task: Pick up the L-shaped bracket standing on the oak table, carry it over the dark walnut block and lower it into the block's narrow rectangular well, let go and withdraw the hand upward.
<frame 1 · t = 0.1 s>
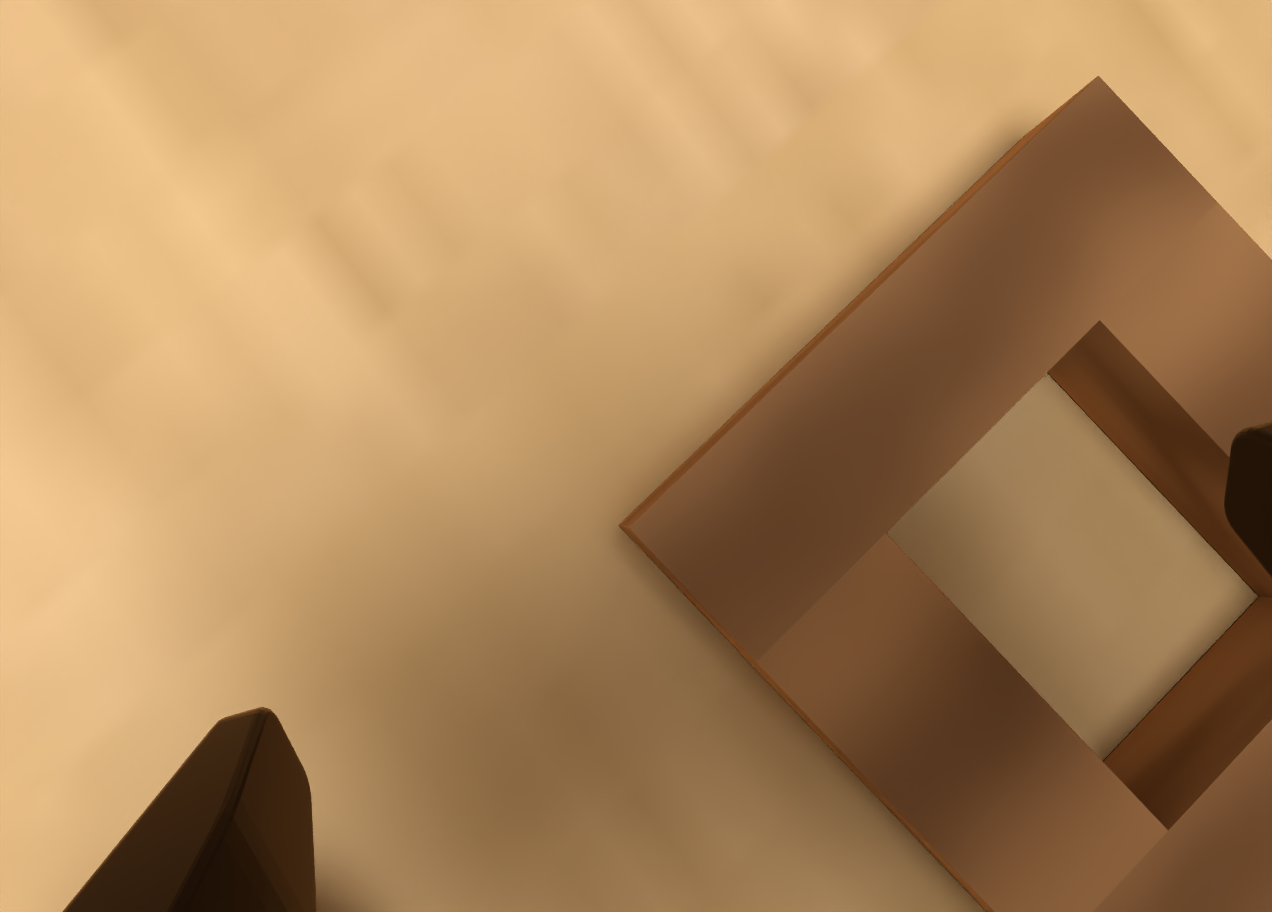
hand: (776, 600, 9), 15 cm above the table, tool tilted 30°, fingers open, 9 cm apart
well block: (1052, 563, 25), on the table
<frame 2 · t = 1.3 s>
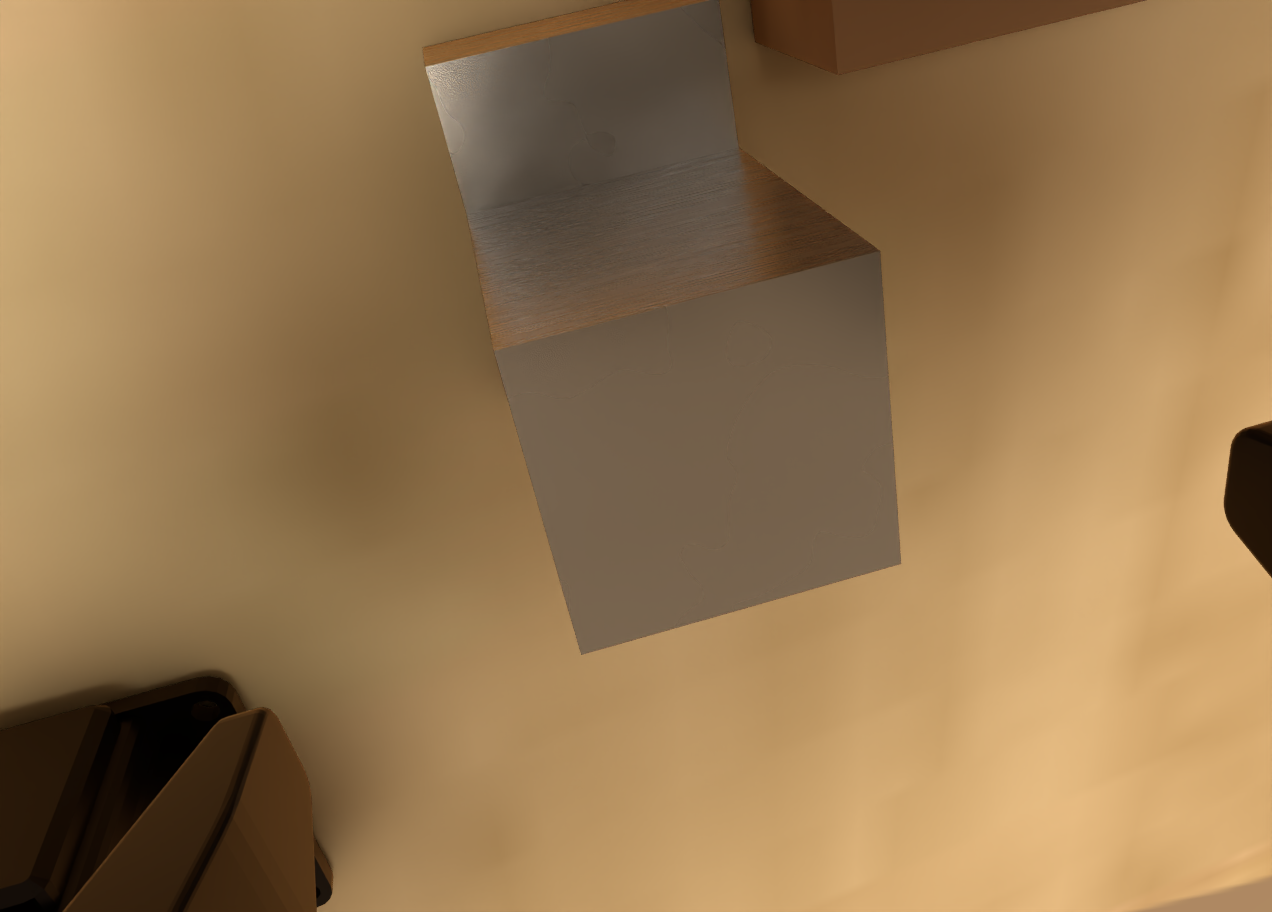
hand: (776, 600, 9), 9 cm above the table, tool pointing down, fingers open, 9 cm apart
bracket: (607, 268, 17), on the table
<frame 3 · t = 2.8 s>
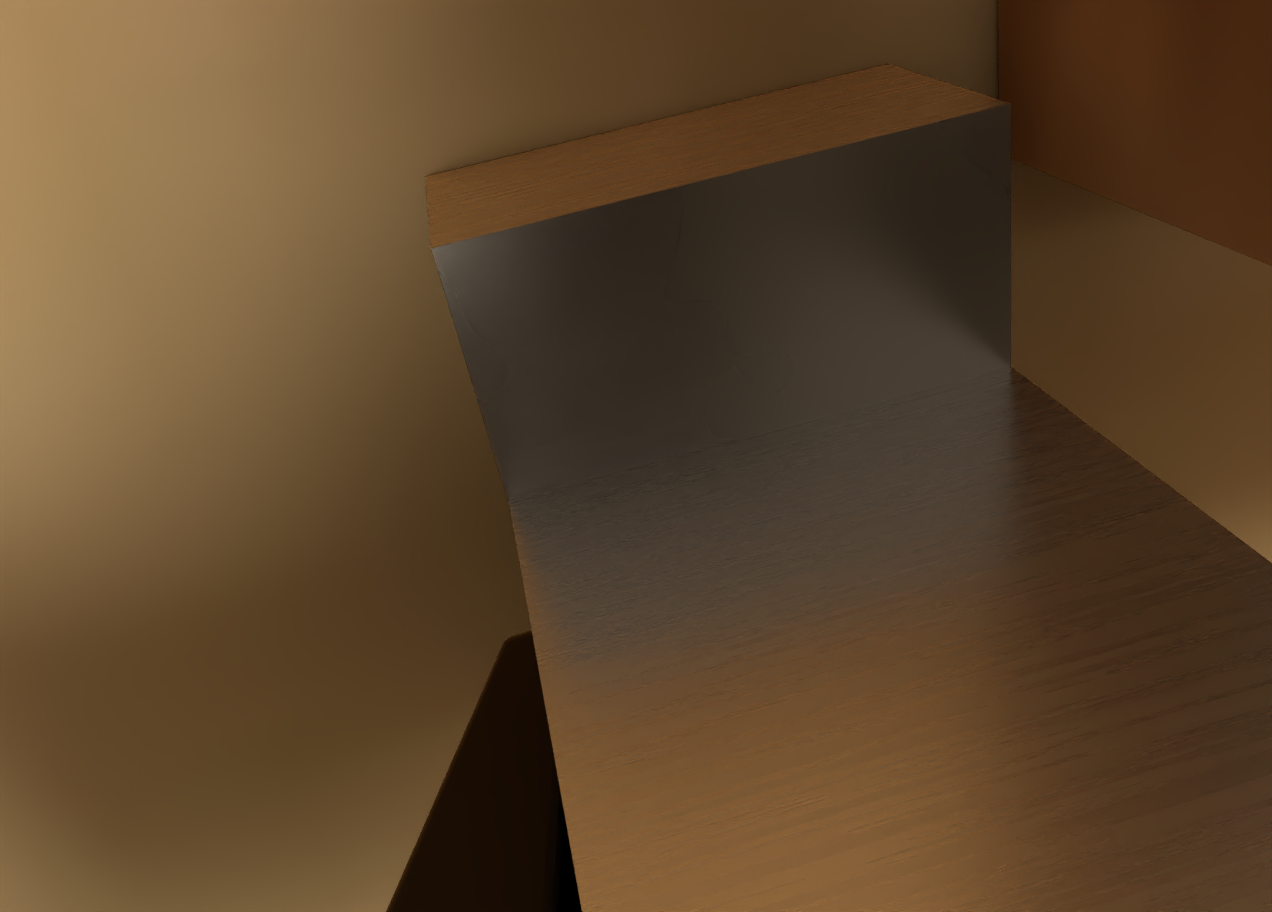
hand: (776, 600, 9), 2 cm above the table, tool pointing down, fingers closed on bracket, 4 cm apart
bracket: (728, 512, 10), on the table, touching gripper
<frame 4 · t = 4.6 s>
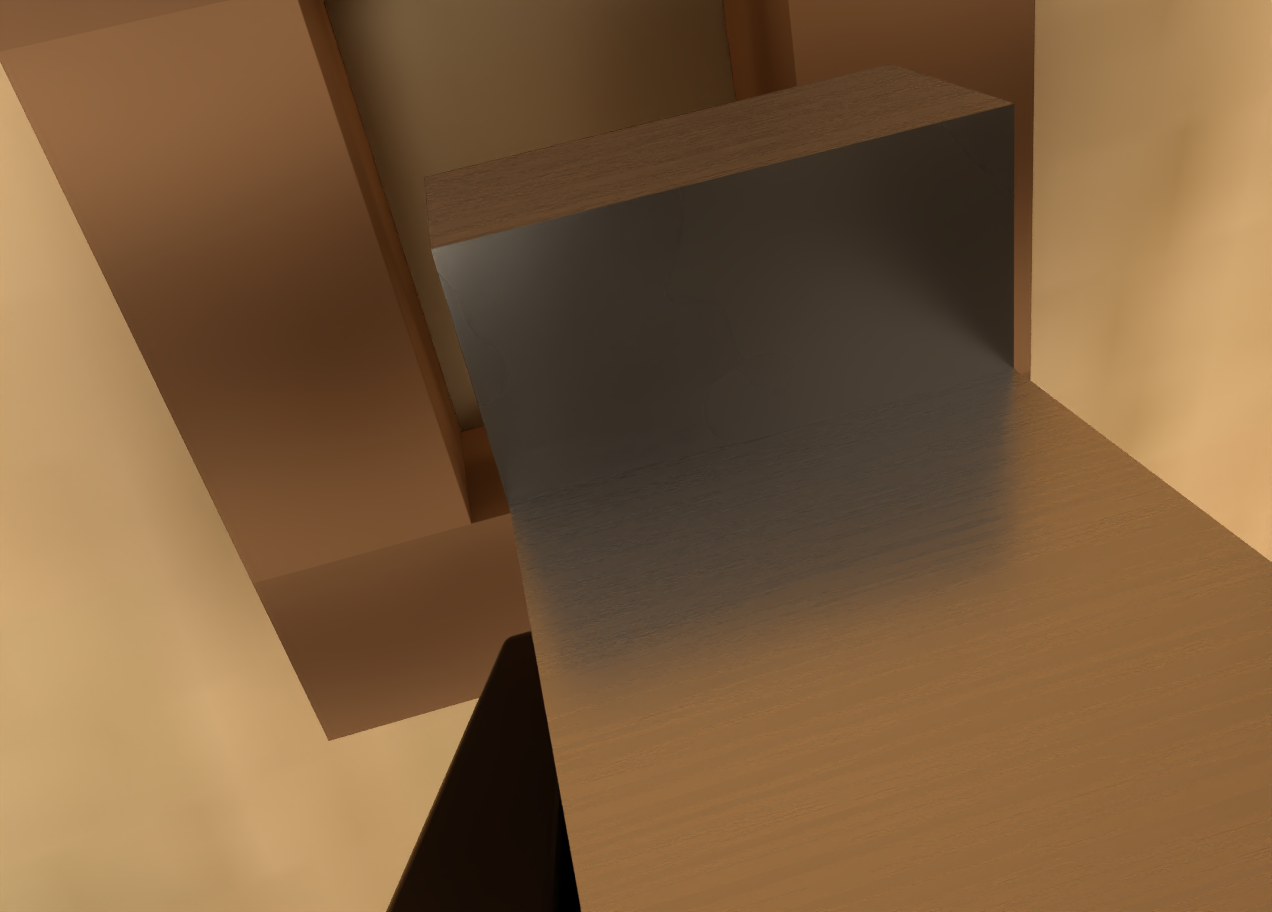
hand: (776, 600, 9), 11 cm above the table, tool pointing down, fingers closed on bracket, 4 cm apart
bracket: (729, 514, 10), point 10 cm above the table, touching gripper
well block: (571, 185, 18), on the table
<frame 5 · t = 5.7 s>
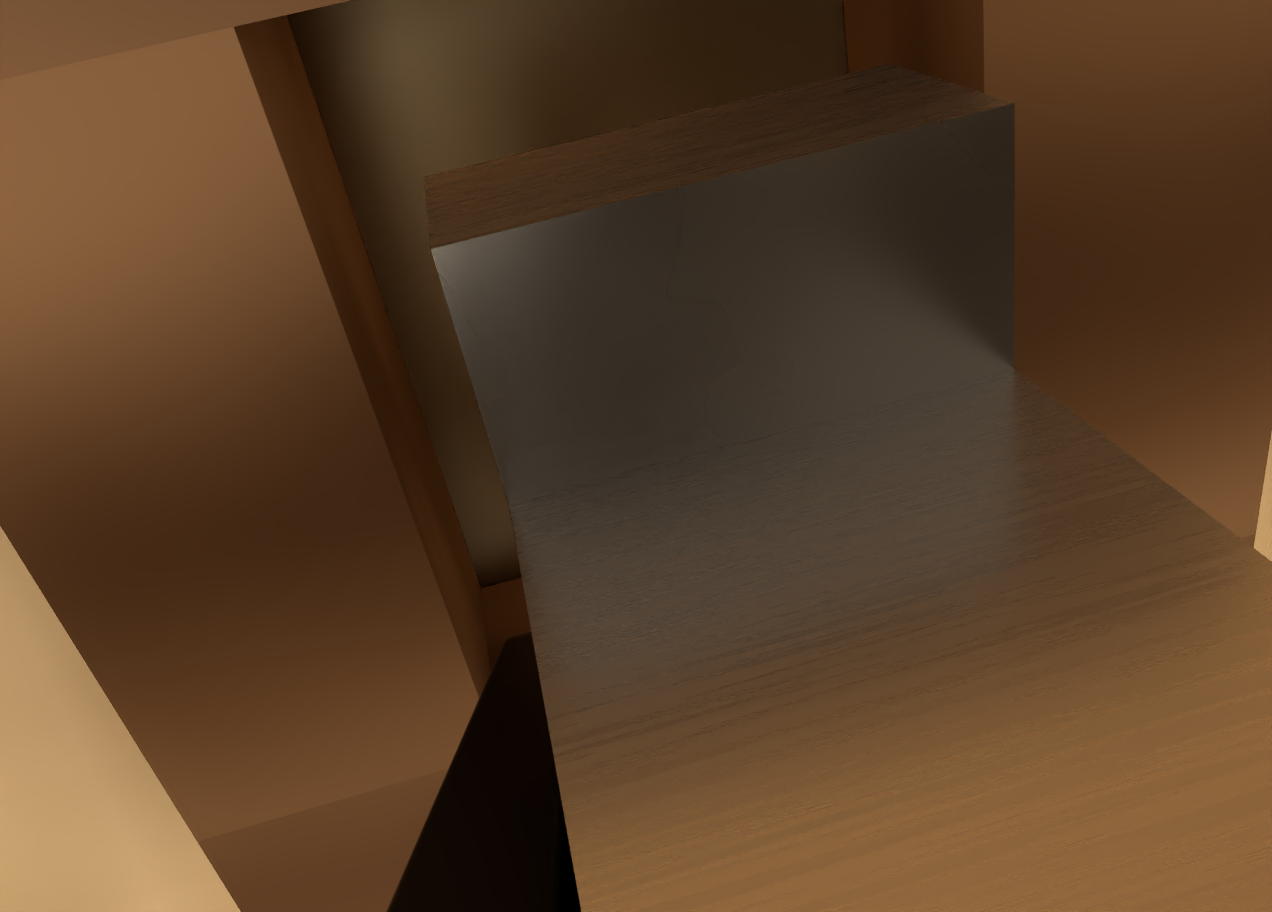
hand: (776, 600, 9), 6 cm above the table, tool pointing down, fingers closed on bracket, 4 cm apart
bracket: (729, 514, 10), point 4 cm above the table, touching gripper
well block: (632, 278, 14), on the table
when the fingers open (4 cm above the table, at t = 6.5 s): bracket drops 3 cm, resting in well block.
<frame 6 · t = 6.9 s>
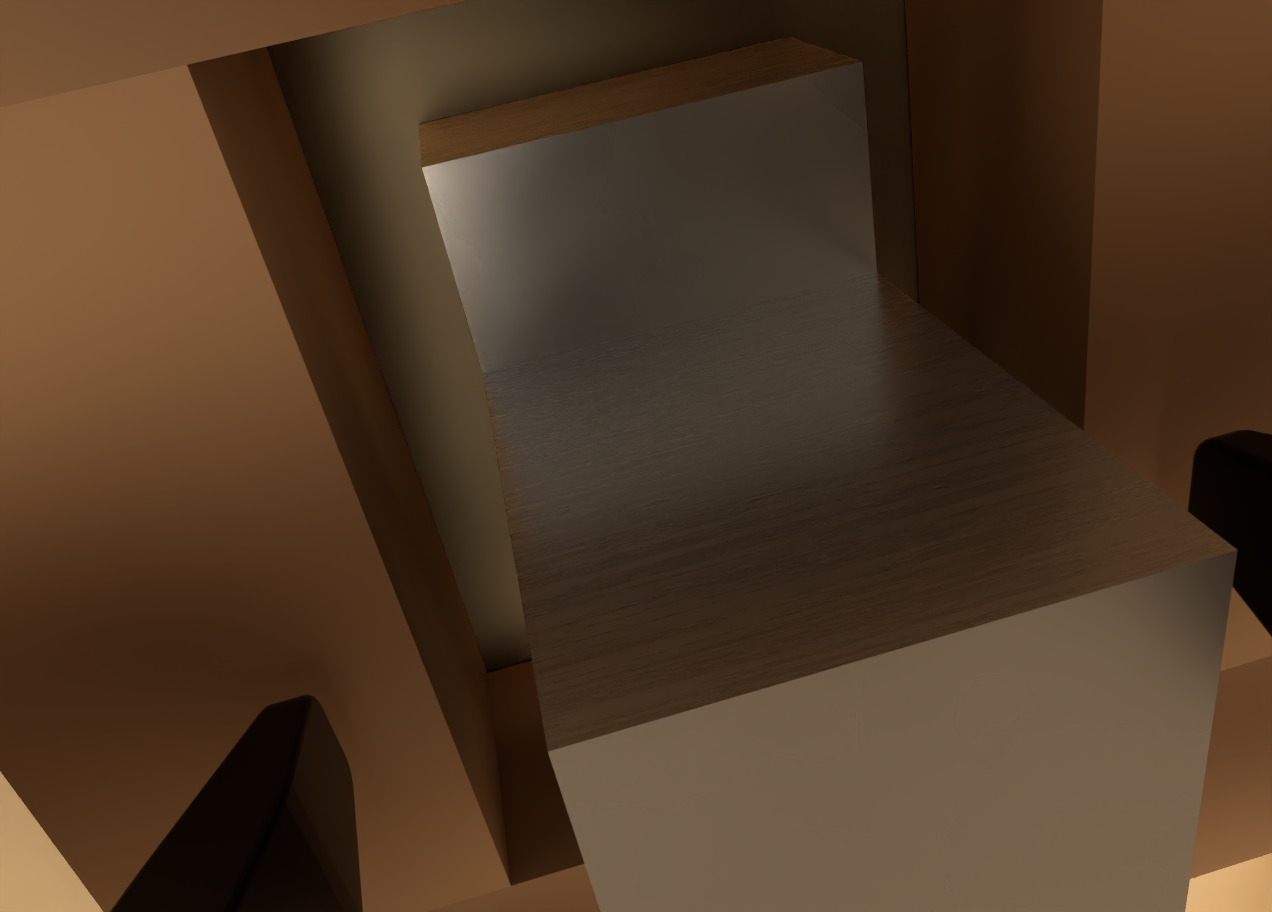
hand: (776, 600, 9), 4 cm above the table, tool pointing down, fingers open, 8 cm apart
bracket: (670, 411, 13), resting in well block
well block: (660, 334, 12), on the table
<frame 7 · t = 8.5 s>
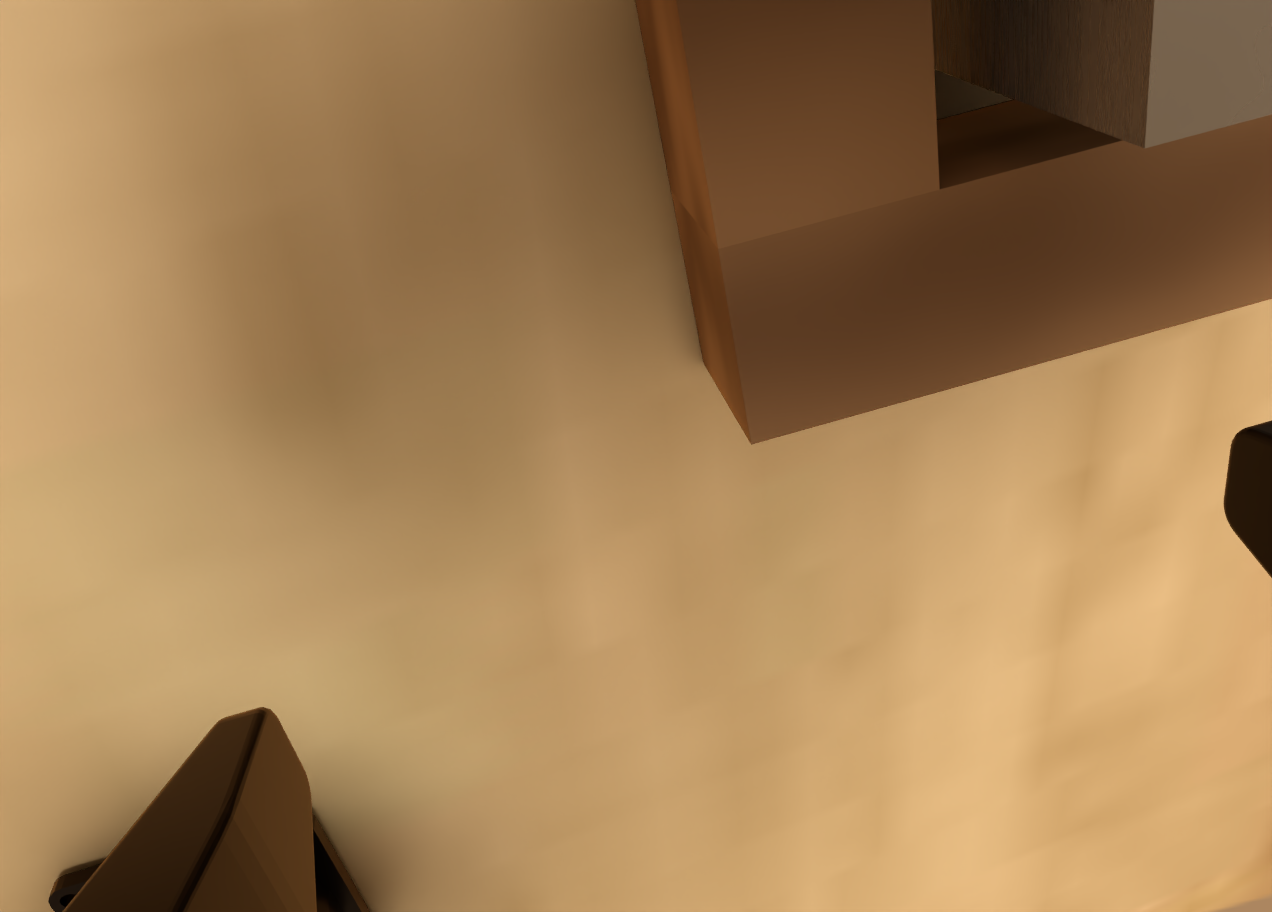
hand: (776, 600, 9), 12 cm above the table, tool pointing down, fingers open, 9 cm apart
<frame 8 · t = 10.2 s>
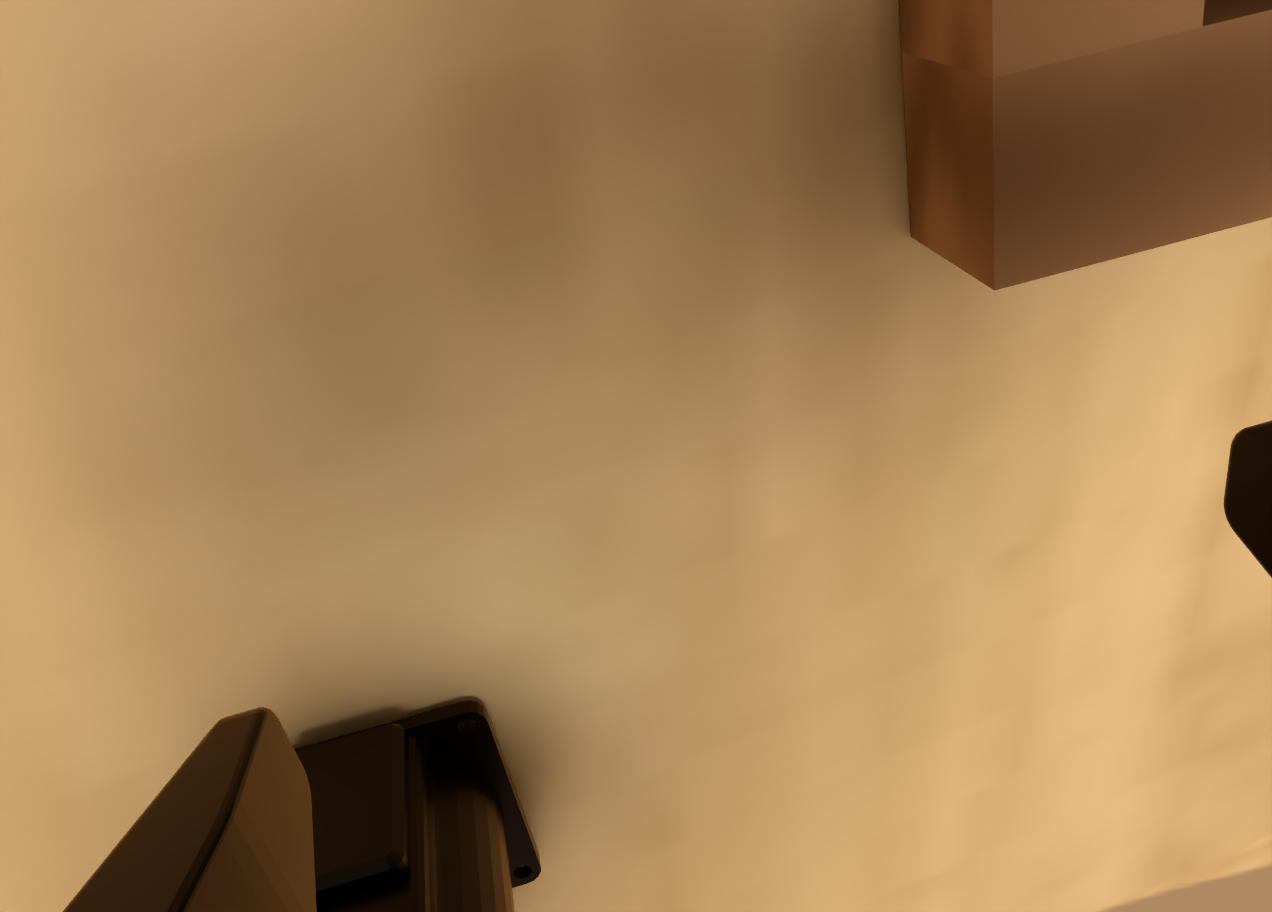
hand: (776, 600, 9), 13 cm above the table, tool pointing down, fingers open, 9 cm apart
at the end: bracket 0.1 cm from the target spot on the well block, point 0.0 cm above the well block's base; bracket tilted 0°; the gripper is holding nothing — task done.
